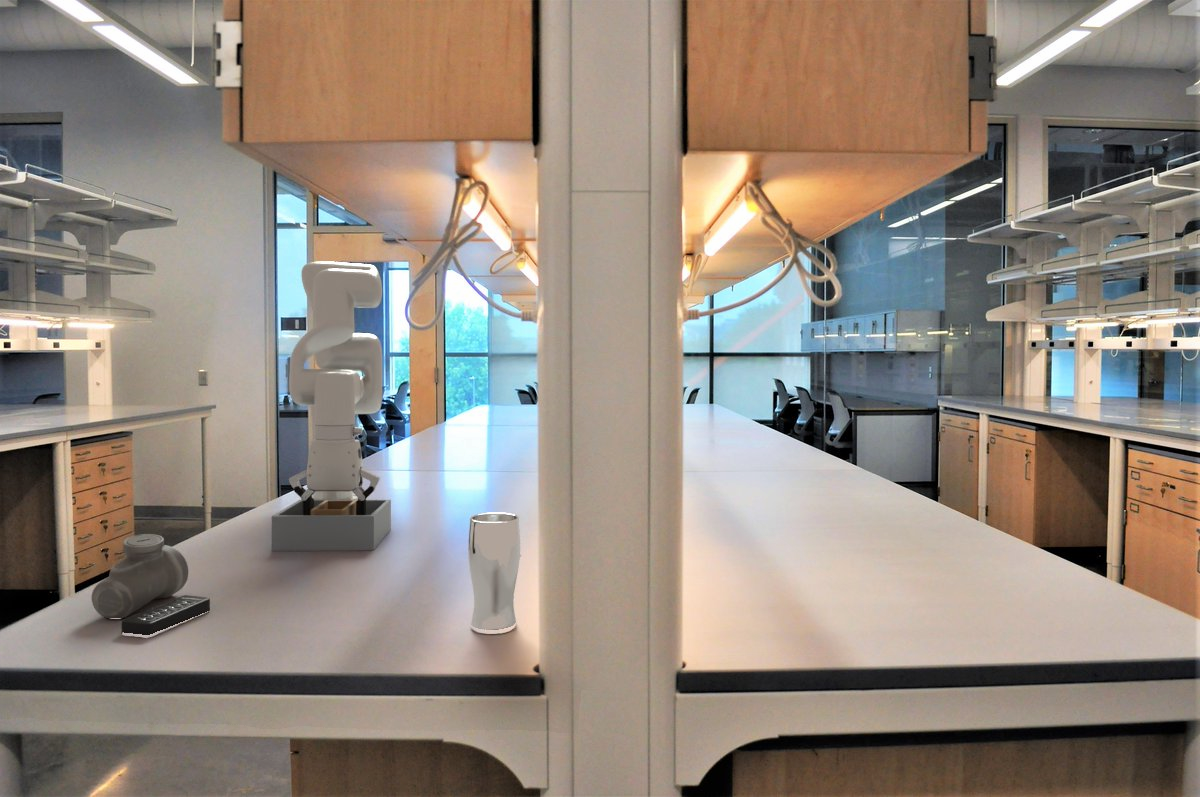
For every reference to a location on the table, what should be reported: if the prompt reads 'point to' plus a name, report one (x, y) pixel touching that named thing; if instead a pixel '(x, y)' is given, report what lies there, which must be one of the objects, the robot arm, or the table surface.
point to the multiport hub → (166, 615)
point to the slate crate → (330, 528)
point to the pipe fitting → (140, 576)
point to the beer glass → (494, 568)
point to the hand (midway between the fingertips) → (334, 519)
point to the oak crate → (335, 508)
